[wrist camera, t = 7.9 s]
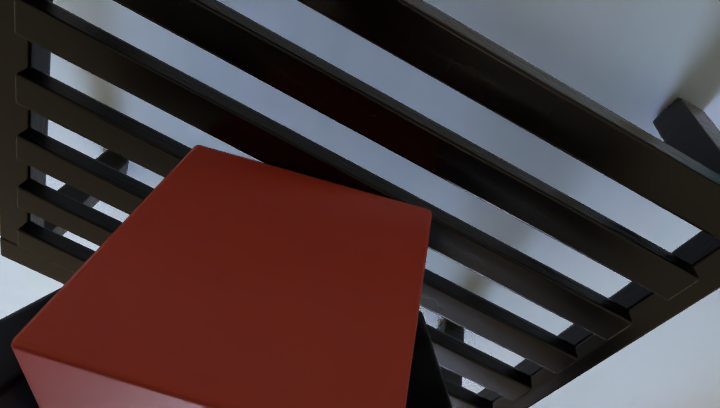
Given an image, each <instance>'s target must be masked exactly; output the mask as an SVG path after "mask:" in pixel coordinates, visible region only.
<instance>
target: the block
mask: <svg viewBox="0 0 720 408" xmlns="http://www.w3.org/2000/svg"><path fill="white" fill-rule="evenodd" d="M431 220H432V212H431V211H430V210H429V209H426V208H422V207H419V206H415V205H412V204H408V203H404V202H401V201H397V200H394V199H390V198H387V197H383V196H379V195H376V194H372V193H369V192H365V191H362V190H358V189H354V188H351V187H347V186H344V185H340V184H337V183H333V182H330V181H326V180H322V179H319V178H315V177H312V176H308V175H305V174H301V173H297V172H294V171H290V170H287V169H283V168H280V167H276V166H273V165H269V164H265V163H262V162H258V161H255V160H251V159H248V158H244V157H240V156H237V155H233V154H230V153H226V152H223V151H219V150H215V149H212V148H208V147H205V146H201V145H196V146H194V148H193V149H192V150H191V151H190V152H189V153H188V154H187V155H186V156H185V157H184V158H183V159H182V160H181V161H180V162H179V163H178V165H177V166H176V167H175V168H174V169H173V170H172V171H171V172H170V173H169V174H168V175H167V176H166V177H165V178H164V179H163V180H162V181H161V183H160V184H159V185H158V186H157V187H156V188H155V189H154V190H153V191H152V192H151V193H150V194H149V195H148V196H147V197H146V198H145V200H144V201H143V202H142V203H141V204H140V205H139V206H138V207H137V208H136V209H135V210H134V211H133V212H132V213H131V214H130V215H129V217H128V218H127V219H126V220H125V221H124V222H123V223H122V224H121V225H120V226H119V227H118V228H117V229H116V230H115V231H114V232H113V233H112V235H111V236H110V237H109V238H108V239H107V240H106V241H105V242H104V243H103V244H102V245H101V246H100V247H99V248H98V249H97V250H96V252H95V253H94V254H93V255H92V256H91V257H90V258H89V259H88V260H87V261H86V262H85V263H84V264H83V265H82V266H81V267H80V268H79V270H78V271H77V272H76V273H75V274H74V275H73V276H72V277H71V278H70V279H69V280H68V281H67V282H66V283H65V284H64V285H63V287H62V288H61V289H60V290H59V291H58V292H57V293H56V294H55V295H54V296H53V297H52V298H51V299H50V300H49V301H48V302H47V304H46V305H45V306H44V307H43V308H42V309H41V310H40V311H39V312H38V313H37V314H36V315H35V316H34V317H33V318H32V319H31V320H30V322H29V323H28V324H27V325H26V326H25V327H24V328H23V329H22V330H21V331H20V332H19V333H18V334H17V335H16V336H15V337H14V339H13V341H12V343H11V347H12V350H13V352H14V354H15V356H16V358H17V360H18V362H19V365H20V367H21V369H22V371H23V373H24V375H25V378H26V380H27V382H28V384H29V386H30V388H31V390H32V393H33V395H34V397H35V399H36V401H37V403H38V406H39V408H405V407H406V400H407V393H408V386H409V378H410V371H411V364H412V357H413V350H414V342H415V335H416V328H417V321H418V313H419V306H420V299H421V292H422V285H423V277H424V270H425V263H426V256H427V249H428V241H429V234H430V227H431Z"/></svg>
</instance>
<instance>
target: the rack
mask: <svg viewBox="0 0 720 408" xmlns="http://www.w3.org/2000/svg"><path fill="white" fill-rule="evenodd" d="M113 1H115V2H117V3H119V4H121V5H122V6H124V7H126V8H128V9H130V10H132V11H134V12H135V13H137V14H139V15H141V16H143V17H145V18H147V19H148V20H150V21H152V22H154V23H156V24H158V25H159V26H161V27H163V28H165V29H167V30H169V31H171V32H172V33H174V34H176V35H178V36H180V37H182V38H184V39H185V40H187V41H189V42H191V43H193V44H195V45H196V46H198V47H200V48H202V49H204V50H206V51H208V52H209V53H211V54H213V55H215V56H217V57H219V58H220V59H222V60H224V61H226V62H228V63H230V64H232V65H233V66H235V67H237V68H239V69H241V70H243V71H245V72H246V73H248V74H250V75H252V76H254V77H256V78H257V79H259V80H261V81H263V82H265V83H267V84H269V85H270V86H272V87H274V88H276V89H278V90H280V91H282V92H283V93H285V94H287V95H289V96H291V97H293V98H294V99H296V100H298V101H300V102H302V103H304V104H306V105H307V106H309V107H311V108H313V109H315V110H317V111H319V112H320V113H322V114H324V115H326V116H328V117H330V118H331V119H333V120H335V121H337V122H339V123H341V124H343V125H344V126H346V127H348V128H350V129H352V130H354V131H355V132H357V133H359V134H361V135H363V136H365V137H367V138H368V139H370V140H372V141H374V142H376V143H378V144H380V145H381V146H383V147H385V148H387V149H389V150H391V151H392V152H394V153H396V154H398V155H400V156H402V157H404V158H405V159H407V160H409V161H411V162H413V163H415V164H417V165H418V166H420V167H422V168H424V169H426V170H428V171H429V172H431V173H433V174H435V175H437V176H439V177H441V178H442V179H444V180H446V181H448V182H450V183H452V184H453V185H455V186H457V187H459V188H461V189H463V190H465V191H466V192H468V193H470V194H472V195H474V196H476V197H478V198H479V199H481V200H483V201H485V202H487V203H489V204H490V205H492V206H494V207H496V208H498V209H500V210H502V211H503V212H505V213H507V214H509V215H511V216H513V217H515V218H516V219H518V220H520V221H522V222H524V223H526V224H527V225H529V226H531V227H533V228H535V229H537V230H539V231H540V232H542V233H544V234H546V235H548V236H550V237H551V238H553V239H555V240H557V241H559V242H561V243H563V244H564V245H566V246H568V247H570V248H572V249H574V250H576V251H577V252H579V253H581V254H583V255H585V256H587V257H588V258H590V259H592V260H594V261H596V262H598V263H600V264H601V265H603V266H605V267H607V268H609V269H611V270H613V271H614V272H616V273H618V274H620V275H622V276H624V277H625V278H627V279H629V280H631V281H632V282H630V283H629V284H628V285H626V286H625V287H624V288H622V289H621V290H619V291H618V292H617V293H615V294H614V295H613V296H611V297H610V298H607V297H605V296H603V295H601V294H599V293H597V292H595V291H593V290H591V289H590V288H588V287H586V286H584V285H582V284H580V283H578V282H576V281H575V280H573V279H571V278H569V277H567V276H565V275H563V274H561V273H560V272H558V271H556V270H554V269H552V268H550V267H548V266H546V265H544V264H543V263H541V262H539V261H537V260H535V259H533V258H531V257H529V256H528V255H526V254H524V253H522V252H520V251H518V250H516V249H514V248H512V247H511V246H509V245H507V244H505V243H503V242H501V241H499V240H497V239H496V238H494V237H492V236H490V235H488V234H486V233H484V232H482V231H481V230H479V229H477V228H475V227H473V226H471V225H469V224H467V223H465V222H464V221H462V220H460V219H458V218H456V217H454V216H452V215H450V214H449V213H447V212H445V211H443V210H441V209H439V208H437V207H435V206H434V205H432V204H430V203H428V202H426V201H424V200H422V199H420V198H418V197H417V196H415V195H413V194H411V193H409V192H407V191H405V190H403V189H402V188H400V187H398V186H396V185H394V184H392V183H390V182H388V181H386V180H385V179H383V178H381V177H379V176H377V175H375V174H373V173H371V172H370V171H368V170H366V169H364V168H362V167H360V166H358V165H356V164H355V163H353V162H351V161H349V160H347V159H345V158H343V157H341V156H339V155H338V154H336V153H334V152H332V151H330V150H328V149H326V148H324V147H323V146H321V145H319V144H317V143H315V142H313V141H311V140H309V139H307V138H306V137H304V136H302V135H300V134H298V133H296V132H294V131H292V130H291V129H289V128H287V127H285V126H283V125H281V124H279V123H277V122H276V121H274V120H272V119H270V118H268V117H266V116H264V115H262V114H260V113H259V112H257V111H255V110H253V109H251V108H249V107H247V106H245V105H244V104H242V103H240V102H238V101H236V100H234V99H232V98H230V97H228V96H227V95H225V94H223V93H221V92H219V91H217V90H215V89H213V88H212V87H210V86H208V85H206V84H204V83H202V82H200V81H198V80H197V79H195V78H193V77H191V76H189V75H187V74H185V73H183V72H181V71H180V70H178V69H176V68H174V67H172V66H170V65H168V64H166V63H165V62H163V61H161V60H159V59H157V58H155V57H153V56H151V55H149V54H148V53H146V52H144V51H142V50H140V49H138V48H136V47H134V46H133V45H131V44H129V43H127V42H125V41H123V40H121V39H119V38H118V37H116V36H114V35H112V34H110V33H108V32H106V31H104V30H102V29H101V28H99V27H97V26H95V25H93V24H91V23H89V22H87V21H86V20H84V19H82V18H80V17H78V16H76V15H74V14H72V13H70V12H69V11H67V10H65V9H63V8H61V7H59V6H57V5H55V4H54V3H53V0H0V236H1V238H0V245H1V255H2V256H4V257H6V258H8V259H11V260H13V261H15V262H17V263H19V264H21V265H24V266H26V267H28V268H30V269H32V270H34V271H37V272H39V273H41V274H43V275H45V276H47V277H50V278H52V279H54V280H56V281H58V282H61V283H63V284H65V283H66V282H67V281H68V280H69V279H70V278H71V277H72V276H73V275H74V274H75V273H76V272H77V271H78V270H79V268H80V267H81V266H82V265H83V264H84V263H85V262H86V261H87V260H88V259H89V258H90V257H91V256H92V255H93V254H94V253H95V251H93V250H91V249H89V248H87V247H85V246H83V245H81V244H78V243H76V242H74V241H72V240H70V239H68V238H66V237H64V236H62V235H63V234H64V233H65V232H67V231H69V232H71V233H73V234H75V235H78V236H80V237H82V238H84V239H86V240H88V241H90V242H92V243H94V244H97V245H99V246H101V245H102V244H103V243H104V242H105V241H106V240H107V239H108V238H109V237H110V236H111V235H112V233H113V232H114V231H115V230H116V229H117V228H118V227H119V226H120V225H121V224H122V222H120V221H118V220H116V219H114V218H112V217H110V216H108V215H106V214H104V213H102V212H100V211H98V210H96V209H93V208H92V207H93V206H94V205H95V204H96V203H97V202H99V201H100V200H101V201H103V202H105V203H107V204H109V205H111V206H113V207H115V208H117V209H119V210H121V211H123V212H125V213H127V214H129V215H130V214H131V213H132V212H133V211H134V210H135V209H136V208H137V207H138V206H139V205H140V204H141V203H142V202H143V201H144V200H145V198H146V197H147V196H148V195H149V194H150V193H151V192H152V191H153V190H154V188H152V187H150V186H148V185H146V184H144V183H142V182H140V181H138V180H136V179H134V178H132V177H129V176H127V175H126V172H127V167H128V160H127V159H129V160H131V161H133V162H135V163H137V164H139V165H141V166H143V167H145V168H147V169H149V170H151V171H153V172H155V173H157V174H159V175H161V176H163V177H166V176H167V175H168V174H169V173H170V172H171V171H172V170H173V169H174V168H175V167H176V166H177V165H178V163H179V162H180V161H181V160H182V159H183V158H184V157H185V156H186V155H187V154H188V153H189V152H190V151H191V150H192V149H191V148H189V147H187V146H185V145H183V144H181V143H179V142H177V141H175V140H173V139H172V138H170V137H168V136H166V135H164V134H162V133H160V132H158V131H156V130H154V129H152V128H150V127H148V126H146V125H144V124H142V123H140V122H138V121H136V120H134V119H133V118H131V117H129V116H127V115H125V114H123V113H121V112H119V111H117V110H115V109H113V108H111V107H109V106H107V105H105V104H103V103H101V102H99V101H97V100H95V99H93V98H92V97H90V96H88V95H86V94H84V93H82V92H80V91H78V90H76V89H74V88H72V87H70V86H68V85H66V84H64V83H62V82H60V81H58V80H56V79H54V78H52V77H51V76H50V59H51V53H53V54H55V55H57V56H59V57H61V58H63V59H65V60H67V61H69V62H71V63H73V64H75V65H76V66H78V67H80V68H82V69H84V70H86V71H88V72H90V73H92V74H94V75H96V76H98V77H100V78H102V79H103V80H105V81H107V82H109V83H111V84H113V85H115V86H117V87H119V88H121V89H123V90H125V91H127V92H129V93H130V94H132V95H134V96H136V97H138V98H140V99H142V100H144V101H146V102H148V103H150V104H152V105H154V106H156V107H157V108H159V109H161V110H163V111H165V112H167V113H169V114H171V115H173V116H175V117H177V118H179V119H181V120H183V121H184V122H186V123H188V124H190V125H192V126H194V127H196V128H198V129H200V130H202V131H204V132H206V133H208V134H209V135H211V136H213V137H215V138H217V139H219V140H221V141H223V142H225V143H227V144H229V145H231V146H233V147H235V148H236V149H238V150H240V151H242V152H244V153H246V154H248V155H250V156H252V157H254V158H256V159H258V160H260V161H262V162H263V163H265V164H269V165H273V166H276V167H280V168H283V169H287V170H290V171H294V172H297V173H301V174H305V175H308V176H312V177H315V178H319V179H322V180H326V181H330V182H333V183H337V184H340V185H344V186H347V187H351V188H354V189H358V190H362V191H365V192H369V193H372V194H376V195H379V196H383V197H387V198H390V199H394V200H397V201H401V202H404V203H408V204H412V205H415V206H419V207H422V208H426V209H429V210H430V211H431V212H432V220H431V227H430V234H429V241H428V248H429V249H431V250H433V251H435V252H437V253H439V254H441V255H443V256H445V257H447V258H449V259H450V260H452V261H454V262H456V263H458V264H460V265H462V266H464V267H466V268H468V269H470V270H472V271H474V272H476V273H477V274H479V275H481V276H483V277H485V278H487V279H489V280H491V281H493V282H495V283H497V284H499V285H501V286H503V287H504V288H506V289H508V290H510V291H512V292H514V293H516V294H518V295H520V296H522V297H524V298H526V299H528V300H530V301H531V302H533V303H535V304H537V305H539V306H541V307H543V308H545V309H547V310H549V311H551V312H553V313H555V314H557V315H558V316H560V317H562V318H564V319H566V320H568V321H570V322H572V323H574V324H573V325H571V326H570V327H569V328H567V329H566V330H564V331H563V332H562V333H560V334H559V335H558V336H556V335H554V334H552V333H550V332H548V331H546V330H544V329H542V328H540V327H538V326H537V325H535V324H533V323H531V322H529V321H527V320H525V319H523V318H521V317H519V316H517V315H515V314H513V313H511V312H509V311H507V310H505V309H503V308H501V307H499V306H497V305H496V304H494V303H492V302H490V301H488V300H486V299H484V298H482V297H480V296H478V295H476V294H474V293H472V292H470V291H468V290H466V289H464V288H462V287H460V286H458V285H456V284H455V283H453V282H451V281H449V280H447V279H445V278H443V277H441V276H439V275H437V274H435V273H433V272H431V271H429V270H427V269H425V270H424V277H423V285H422V292H421V299H420V306H422V307H424V308H426V309H428V310H430V311H432V312H434V313H436V314H438V315H440V316H442V317H444V318H446V319H448V320H450V321H452V322H454V323H456V324H458V325H460V326H462V327H464V328H466V329H468V330H470V331H472V332H474V333H476V334H478V335H480V336H482V337H484V338H486V339H488V340H490V341H492V342H494V343H496V344H498V345H500V346H502V347H504V348H506V349H508V350H510V351H512V352H514V353H516V354H518V355H520V356H522V357H524V358H526V359H525V360H523V361H522V362H520V363H519V364H518V365H516V366H515V367H512V366H510V365H508V364H506V363H504V362H502V361H500V360H498V359H496V358H494V357H492V356H490V355H488V354H486V353H484V352H482V351H480V350H478V349H476V348H474V347H472V346H470V345H468V344H466V343H464V328H462V327H460V326H458V325H456V324H454V323H452V322H450V321H448V320H446V321H445V322H444V323H442V324H441V325H440V326H439V327H438V328H437V329H436V328H434V327H432V326H430V325H428V324H426V326H427V329H428V332H429V335H430V338H431V341H432V344H433V348H434V351H435V354H436V357H437V360H438V363H439V367H440V370H441V373H442V376H443V379H444V382H445V385H446V389H447V392H448V395H449V398H450V401H451V404H452V407H453V408H529V407H530V406H532V405H533V404H535V403H536V402H538V401H540V400H541V399H543V398H544V397H546V396H548V395H549V394H551V393H552V392H554V391H556V390H557V389H559V388H560V387H562V386H564V385H565V384H567V383H568V382H570V381H572V380H573V379H575V378H576V377H578V376H580V375H581V374H583V373H584V372H586V371H588V370H589V369H591V368H592V367H594V366H596V365H597V364H599V363H600V362H602V361H604V360H605V359H607V358H608V357H610V356H612V355H613V354H615V353H616V352H618V351H620V350H621V349H623V348H624V347H626V346H627V345H629V344H631V343H632V342H634V341H635V340H637V339H639V338H640V337H642V336H643V335H645V334H647V333H648V332H650V331H651V330H653V329H655V328H656V327H658V326H659V325H661V324H663V323H664V322H666V321H667V320H669V319H671V318H672V317H674V316H675V315H677V314H679V313H680V312H682V311H683V310H685V309H687V308H688V307H690V306H691V305H693V304H695V303H696V302H698V301H699V300H701V299H703V298H704V297H706V296H707V295H709V294H711V293H712V292H714V291H715V290H717V289H719V288H720V131H719V130H718V128H717V127H716V126H715V125H714V123H713V122H712V121H711V120H710V118H709V117H708V116H707V115H706V113H705V112H703V111H702V110H700V109H698V108H697V107H695V106H694V105H692V104H690V103H689V102H687V101H685V100H684V99H682V98H677V99H676V100H675V101H674V102H673V103H672V104H671V105H670V106H669V107H668V108H667V109H665V110H664V111H663V112H662V113H661V114H660V115H659V116H658V117H657V118H656V119H655V120H654V121H653V124H654V125H655V127H656V129H657V130H658V132H659V134H660V135H661V137H662V139H663V140H664V142H665V143H664V142H663V141H661V140H659V139H658V138H656V137H654V136H652V135H651V134H649V133H647V132H646V131H644V130H642V129H641V128H639V127H637V126H636V125H634V124H632V123H630V122H629V121H627V120H625V119H624V118H622V117H620V116H619V115H617V114H615V113H613V112H612V111H610V110H608V109H607V108H605V107H603V106H602V105H600V104H598V103H596V102H595V101H593V100H591V99H590V98H588V97H586V96H585V95H583V94H581V93H579V92H578V91H576V90H574V89H573V88H571V87H569V86H568V85H566V84H564V83H562V82H561V81H559V80H557V79H556V78H554V77H552V76H551V75H549V74H547V73H545V72H544V71H542V70H540V69H539V68H537V67H535V66H534V65H532V64H530V63H529V62H527V61H525V60H523V59H522V58H520V57H518V56H517V55H515V54H513V53H512V52H510V51H508V50H506V49H505V48H503V47H501V46H500V45H498V44H496V43H495V42H493V41H491V40H489V39H488V38H486V37H484V36H483V35H481V34H479V33H478V32H476V31H474V30H472V29H471V28H469V27H467V26H466V25H464V24H462V23H461V22H459V21H457V20H455V19H454V18H452V17H450V16H449V15H447V14H445V13H444V12H442V11H440V10H438V9H437V8H435V7H433V6H432V5H430V4H428V3H427V2H425V1H423V0H298V1H299V2H301V3H303V4H305V5H306V6H308V7H310V8H312V9H313V10H315V11H317V12H319V13H320V14H322V15H324V16H326V17H327V18H329V19H331V20H333V21H334V22H336V23H338V24H340V25H342V26H343V27H345V28H347V29H349V30H350V31H352V32H354V33H356V34H357V35H359V36H361V37H363V38H364V39H366V40H368V41H370V42H371V43H373V44H375V45H377V46H378V47H380V48H382V49H384V50H386V51H387V52H389V53H391V54H393V55H394V56H396V57H398V58H400V59H401V60H403V61H405V62H407V63H408V64H410V65H412V66H414V67H415V68H417V69H419V70H421V71H422V72H424V73H426V74H428V75H429V76H431V77H433V78H435V79H437V80H438V81H440V82H442V83H444V84H445V85H447V86H449V87H451V88H452V89H454V90H456V91H458V92H459V93H461V94H463V95H465V96H466V97H468V98H470V99H472V100H473V101H475V102H477V103H479V104H481V105H482V106H484V107H486V108H488V109H489V110H491V111H493V112H495V113H496V114H498V115H500V116H502V117H503V118H505V119H507V120H509V121H510V122H512V123H514V124H516V125H517V126H519V127H521V128H523V129H525V130H526V131H528V132H530V133H532V134H533V135H535V136H537V137H539V138H540V139H542V140H544V141H546V142H547V143H549V144H551V145H553V146H554V147H556V148H558V149H560V150H561V151H563V152H565V153H567V154H568V155H570V156H572V157H574V158H576V159H577V160H579V161H581V162H583V163H584V164H586V165H588V166H590V167H591V168H593V169H595V170H597V171H598V172H600V173H602V174H604V175H605V176H607V177H609V178H611V179H612V180H614V181H616V182H618V183H620V184H621V185H623V186H625V187H627V188H628V189H630V190H632V191H634V192H635V193H637V194H639V195H641V196H642V197H644V198H646V199H648V200H649V201H651V202H653V203H655V204H656V205H658V206H660V207H662V208H664V209H665V210H667V211H669V212H671V213H672V214H674V215H676V216H678V217H679V218H681V219H683V220H685V221H686V222H688V223H690V224H692V225H693V226H695V227H697V228H699V229H700V230H702V231H701V232H699V233H698V234H697V235H695V236H694V237H692V238H691V239H690V240H688V241H687V242H685V243H684V244H683V245H681V246H680V247H679V248H677V249H676V250H674V251H673V252H672V253H670V252H668V251H666V250H665V249H663V248H661V247H659V246H657V245H656V244H654V243H652V242H650V241H648V240H647V239H645V238H643V237H641V236H639V235H638V234H636V233H634V232H632V231H630V230H629V229H627V228H625V227H623V226H621V225H620V224H618V223H616V222H614V221H612V220H611V219H609V218H607V217H605V216H603V215H602V214H600V213H598V212H596V211H594V210H593V209H591V208H589V207H587V206H585V205H584V204H582V203H580V202H578V201H576V200H575V199H573V198H571V197H569V196H567V195H566V194H564V193H562V192H560V191H558V190H557V189H555V188H553V187H551V186H549V185H548V184H546V183H544V182H542V181H540V180H539V179H537V178H535V177H533V176H532V175H530V174H528V173H526V172H524V171H523V170H521V169H519V168H517V167H515V166H514V165H512V164H510V163H508V162H506V161H505V160H503V159H501V158H499V157H497V156H496V155H494V154H492V153H490V152H488V151H487V150H485V149H483V148H481V147H479V146H478V145H476V144H474V143H472V142H470V141H469V140H467V139H465V138H463V137H461V136H460V135H458V134H456V133H454V132H452V131H451V130H449V129H447V128H445V127H443V126H442V125H440V124H438V123H436V122H434V121H433V120H431V119H429V118H427V117H425V116H424V115H422V114H420V113H418V112H416V111H415V110H413V109H411V108H409V107H407V106H406V105H404V104H402V103H400V102H398V101H397V100H395V99H393V98H391V97H389V96H388V95H386V94H384V93H382V92H380V91H379V90H377V89H375V88H373V87H371V86H370V85H368V84H366V83H364V82H362V81H361V80H359V79H357V78H355V77H353V76H352V75H350V74H348V73H346V72H344V71H343V70H341V69H339V68H337V67H335V66H334V65H332V64H330V63H328V62H326V61H325V60H323V59H321V58H319V57H317V56H316V55H314V54H312V53H310V52H308V51H307V50H305V49H303V48H301V47H299V46H298V45H296V44H294V43H292V42H290V41H289V40H287V39H285V38H283V37H281V36H280V35H278V34H276V33H274V32H272V31H271V30H269V29H267V28H265V27H263V26H262V25H260V24H258V23H256V22H254V21H253V20H251V19H249V18H247V17H245V16H244V15H242V14H240V13H238V12H236V11H235V10H233V9H231V8H229V7H228V6H226V5H224V4H222V3H220V2H219V1H217V0H113ZM48 119H49V120H51V121H53V122H55V123H57V124H59V125H61V126H63V127H65V128H67V129H69V130H71V131H73V132H75V133H77V134H79V135H81V136H83V137H85V138H87V139H89V140H91V141H93V142H95V143H97V144H99V145H101V146H103V147H105V148H107V149H109V150H111V151H113V152H115V153H117V154H119V155H121V156H123V157H125V158H127V159H125V158H123V157H121V156H119V155H117V154H115V153H113V152H111V151H109V150H106V151H105V152H104V153H103V154H101V155H100V156H99V157H98V158H97V159H93V158H91V157H89V156H87V155H85V154H83V153H81V152H79V151H77V150H75V149H73V148H71V147H69V146H67V145H65V144H63V143H61V142H59V141H57V140H55V139H53V138H51V137H49V136H48ZM46 174H47V175H49V176H51V177H53V178H55V179H57V180H59V181H61V182H64V183H66V184H65V185H64V186H63V187H61V188H60V189H59V190H58V191H56V190H54V189H52V188H50V187H48V186H46ZM462 377H464V378H466V379H468V380H470V381H473V382H475V383H477V384H479V385H481V386H483V387H485V389H483V390H482V391H481V392H479V393H478V394H476V393H474V392H472V391H470V390H468V389H466V388H464V387H462Z"/></svg>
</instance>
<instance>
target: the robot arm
mask: <svg viewBox="0 0 720 408" xmlns="http://www.w3.org/2000/svg"><path fill="white" fill-rule="evenodd" d="M60 289H61V288H60ZM60 289H58V290H56V291H54V292H52V293H50V294H48V295H46V296H44V297H43V298H41V299H39V300H37V301H35V302H33V303H31V304H29V305H27V306H25V307H23V308H22V309H20V310H18V311H16V312H14V313H12V314H10V315H8V316H6V317H4V318H3V319H1V320H0V408H39V406H38V403H37V401H36V399H35V397H34V395H33V393H32V390H31V388H30V386H29V384H28V382H27V380H26V378H25V375H24V373H23V371H22V369H21V367H20V365H19V362H18V360H17V358H16V356H15V354H14V352H13V350H12V347H11V343H12V341H13V339H14V337H15V336H16V335H17V334H18V333H19V332H20V331H21V330H22V329H23V328H24V327H25V326H26V325H27V324H28V323H29V322H30V320H31V319H32V318H33V317H34V316H35V315H36V314H37V313H38V312H39V311H40V310H41V309H42V308H43V307H44V306H45V305H46V304H47V302H48V301H49V300H50V299H51V298H52V297H53V296H54V295H55V294H56V293H57V292H58V291H59V290H60ZM405 408H453V407H452V404H451V401H450V398H449V395H448V392H447V389H446V385H445V382H444V379H443V376H442V373H441V370H440V367H439V363H438V360H437V357H436V354H435V351H434V348H433V344H432V341H431V338H430V335H429V332H428V329H427V326H426V322H425V319H424V316H423V314H422V312H421V311H419V313H418V321H417V328H416V335H415V342H414V350H413V357H412V364H411V371H410V378H409V386H408V393H407V400H406V407H405Z"/></svg>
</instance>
